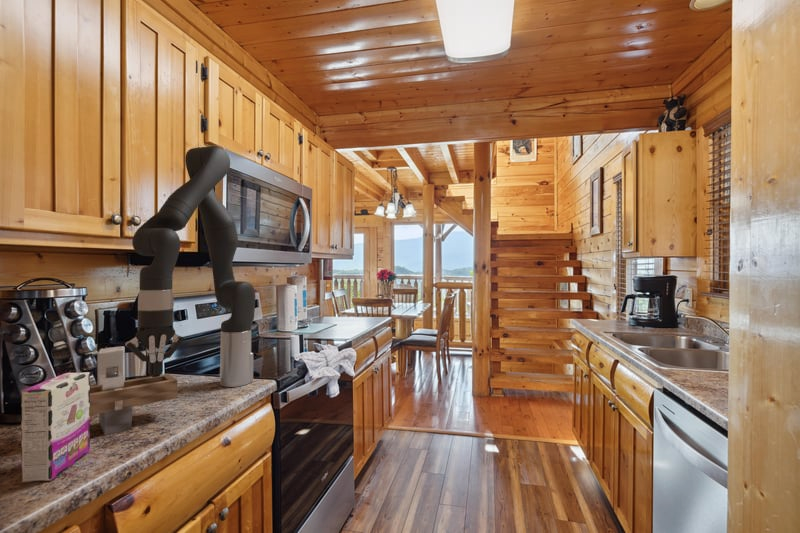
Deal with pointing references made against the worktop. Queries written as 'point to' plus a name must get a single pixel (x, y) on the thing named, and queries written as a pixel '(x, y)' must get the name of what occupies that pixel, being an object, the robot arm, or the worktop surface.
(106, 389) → the rider
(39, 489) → the worktop surface
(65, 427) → the candy bar box
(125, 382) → the beam
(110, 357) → the skincare box
